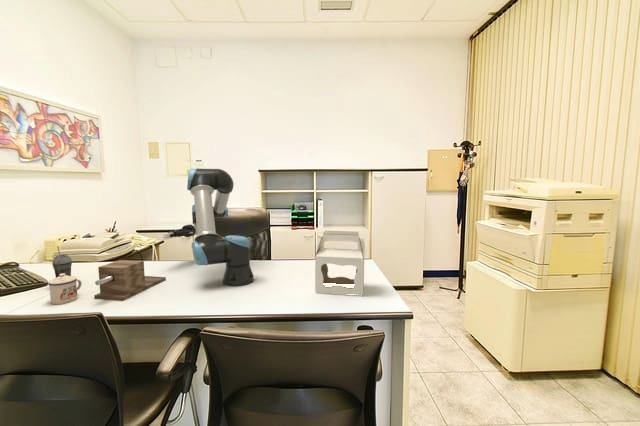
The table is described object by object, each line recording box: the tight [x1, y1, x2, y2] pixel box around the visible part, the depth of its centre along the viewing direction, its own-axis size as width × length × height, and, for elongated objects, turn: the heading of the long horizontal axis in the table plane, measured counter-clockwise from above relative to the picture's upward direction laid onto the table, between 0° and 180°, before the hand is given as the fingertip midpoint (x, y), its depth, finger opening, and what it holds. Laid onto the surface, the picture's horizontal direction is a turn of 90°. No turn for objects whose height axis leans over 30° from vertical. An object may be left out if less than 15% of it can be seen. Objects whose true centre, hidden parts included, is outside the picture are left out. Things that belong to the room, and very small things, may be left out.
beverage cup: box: [52, 245, 73, 278], centre depth 141 cm, size 7×7×20 cm
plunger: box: [95, 275, 114, 286], centre depth 131 cm, size 22×6×6 cm, turn 171°
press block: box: [93, 259, 167, 302], centre depth 138 cm, size 27×14×14 cm, turn 171°
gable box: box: [314, 230, 366, 296], centre depth 138 cm, size 22×13×28 cm, turn 80°
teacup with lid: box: [47, 273, 83, 305], centre depth 126 cm, size 12×9×12 cm
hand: (164, 236), depth 159 cm, fingers closed
